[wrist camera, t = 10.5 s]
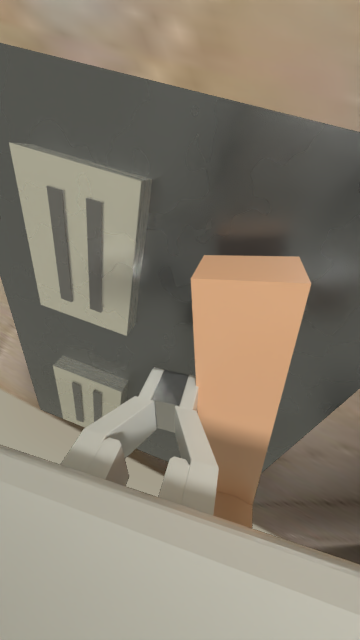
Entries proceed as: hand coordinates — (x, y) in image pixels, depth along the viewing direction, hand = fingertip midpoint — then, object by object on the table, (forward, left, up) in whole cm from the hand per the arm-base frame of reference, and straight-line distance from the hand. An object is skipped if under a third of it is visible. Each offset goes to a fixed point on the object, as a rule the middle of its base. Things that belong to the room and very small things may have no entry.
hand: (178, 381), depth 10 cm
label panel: (+3, -2, -4) cm, 5 cm away
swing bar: (+2, +3, -2) cm, 5 cm away
